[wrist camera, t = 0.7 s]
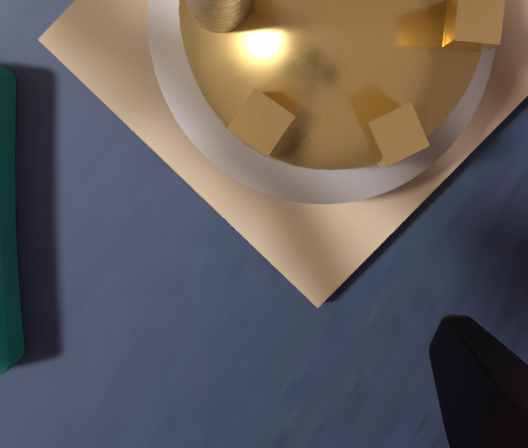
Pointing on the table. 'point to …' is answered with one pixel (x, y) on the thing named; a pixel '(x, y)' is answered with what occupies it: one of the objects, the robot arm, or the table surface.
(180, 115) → the cap housing
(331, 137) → the round base with post
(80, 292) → the table surface
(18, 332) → the digital multimeter
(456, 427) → the robot arm
